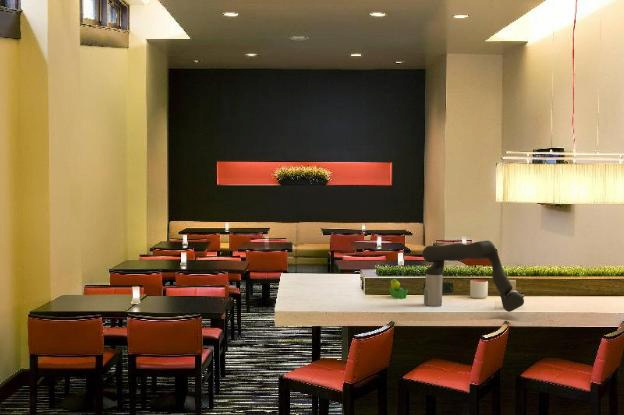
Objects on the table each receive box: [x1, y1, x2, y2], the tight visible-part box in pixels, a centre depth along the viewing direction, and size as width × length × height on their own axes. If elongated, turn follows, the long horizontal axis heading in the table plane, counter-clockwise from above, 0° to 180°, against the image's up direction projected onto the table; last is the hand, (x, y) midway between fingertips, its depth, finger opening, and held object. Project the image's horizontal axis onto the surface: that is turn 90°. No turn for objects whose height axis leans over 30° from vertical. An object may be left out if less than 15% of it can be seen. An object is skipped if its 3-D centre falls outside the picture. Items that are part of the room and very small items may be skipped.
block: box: [509, 279, 517, 290], centre depth 446 cm, size 5×5×15 cm
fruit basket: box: [388, 278, 409, 300], centre depth 478 cm, size 11×9×11 cm
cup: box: [469, 279, 489, 300], centre depth 482 cm, size 10×10×10 cm
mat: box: [494, 300, 526, 311], centre depth 454 cm, size 24×16×1 cm, turn 168°
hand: (511, 291), depth 433 cm, fingers closed
